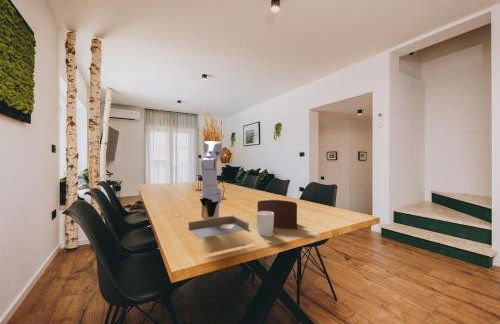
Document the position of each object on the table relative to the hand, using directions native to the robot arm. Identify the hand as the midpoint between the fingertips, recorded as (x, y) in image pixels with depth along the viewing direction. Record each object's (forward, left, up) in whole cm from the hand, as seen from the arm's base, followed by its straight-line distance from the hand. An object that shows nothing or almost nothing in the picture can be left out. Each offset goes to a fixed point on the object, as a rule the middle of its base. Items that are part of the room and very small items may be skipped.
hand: (208, 215), depth 97 cm
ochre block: (0, 0, -1) cm, 1 cm away
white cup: (+13, +22, -9) cm, 27 cm away
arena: (-3, +6, -9) cm, 11 cm away
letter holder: (+4, +36, -9) cm, 37 cm away
